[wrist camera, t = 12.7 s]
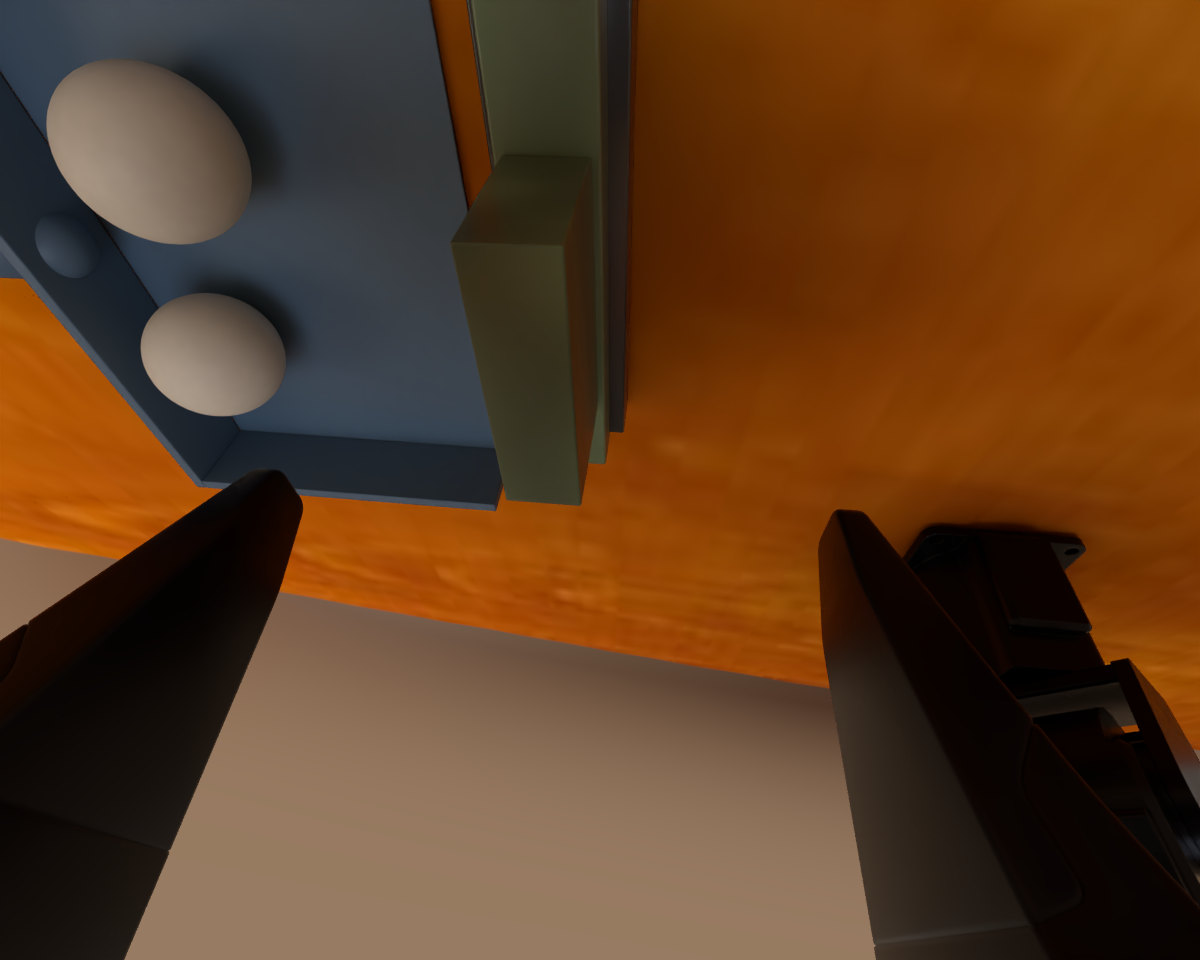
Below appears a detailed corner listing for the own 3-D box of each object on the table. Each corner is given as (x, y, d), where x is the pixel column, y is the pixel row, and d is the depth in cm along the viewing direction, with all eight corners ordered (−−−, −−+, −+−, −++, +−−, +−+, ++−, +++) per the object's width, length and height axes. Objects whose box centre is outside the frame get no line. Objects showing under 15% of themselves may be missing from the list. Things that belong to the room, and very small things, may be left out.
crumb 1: (307, 224, 16) (165, 287, 14) (232, 197, 18) (96, 249, 16) (231, 47, 13) (35, 93, 11) (150, 36, 15) (-32, 73, 13)
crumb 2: (326, 393, 21) (224, 459, 19) (263, 349, 22) (161, 405, 20) (281, 299, 18) (152, 365, 16) (211, 254, 19) (84, 309, 17)
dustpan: (377, -286, 10) (297, -316, 8) (512, 454, 24) (496, 511, 22) (-660, -250, 12) (-942, -267, 10) (30, 419, 26) (-26, 469, 24)
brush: (639, -36, 12) (603, 48, 7) (627, 405, 21) (608, 565, 17) (482, -36, 12) (354, 47, 8) (538, 400, 22) (495, 556, 17)
